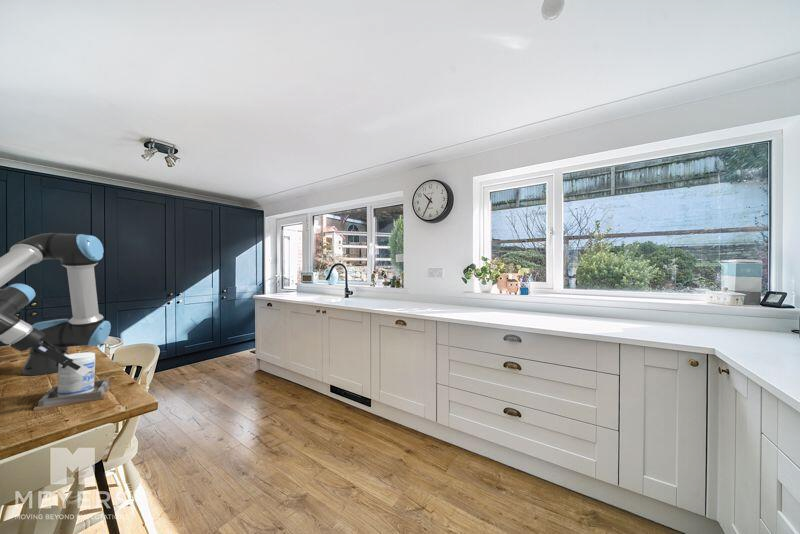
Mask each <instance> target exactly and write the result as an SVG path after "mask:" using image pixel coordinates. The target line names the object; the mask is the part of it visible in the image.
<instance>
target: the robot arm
mask: <svg viewBox="0 0 800 534" xmlns="http://www.w3.org/2000/svg"><path fill="white" fill-rule="evenodd" d="M103 257H104V246H103V243H102V242H101V240H100V239H99V238H97V236H94V235H89V234H83V233H81V234H80V233H59V232H58V233H56V232H48V233H47V232H46V233H41V234H37V235H33V236H30V237H28V238H26V239H25V238H24V239H23V240H21V241H19V242H17V243H15V244H13V245H12V246H11V247H10V248H9V251H8V252H7V253H5V254H4V255H2V256H0V342H2V343H3V344H5V345H9V346H10V347H11V348H12V349H14V350H16V351H18V352H24V351H27V350H29V355H28V358H27V360H26V361H25V364H24V365H23V368H22V371H21V372H22V373H21V374H22V375H23V376H41V375H47V374H48V375H49V374H54V373H58V367H59V363H60V364H61V365H63V366H62V368H65V367H67V368H69V369H71V370H72V371H74V372H76V373H78V374H80V375H82V376H85V375H86V374H87V373H88V372H89V371H90V370H91V369H89V368H87V367H85V366H84V365H82V364H80V363H78V362H76V361H74V360H72V359H70V358H68V357H66V356H65V355H69V352H68V348H69V347H70V348H71V347H75V348H76V347H93V346H100V345H102V344H104V343H105V342H106V341H107V339H108V337H109V336H110V333H111V328H112V325H111V322H110V321H108V320H104V316H103V314H101V313H100V311H99V304H98V294H97V284H96V282H97V281H96V276H95V275H96V273H95V267H96V265H98V264H99V261H100V260H102V258H103ZM45 260H60V265H61V266H62V267H64V268H66V272H67V279H68V280H67V281H68V288H69V296H70V306H71V313H72V317H71V318H70V319H69V318H60V319H59V318H58V319H51V320H46V321H45V320H44V321H39V322H35V323H33V324H32V325H31V324H30V323H28V322H26V321H25V320H22V319H20V318H19V317H17V316H15V315H16V314H17V313H18V312H20V311H21V310H22V309H24V308H25V307H26V306H28V305H29V304H30V303H31V302H32V300H33V299H35V297H36V292H35V290H34V288H32V287H31V286H30V285H27V284H25V283H13V284H10V285H8V286H6V287H5V288H1V287H3V286H4V285H5V284H7V283H8V282H9V281H11V280H12V279H14V278H15V277H16V276H18V275H19V274H21V273H22V272H23V271H25V270H26V269H27V268H29V267H30V266H31V265H35V264H39V263H41V261H45ZM66 360H67V361H66ZM65 361H66V362H65ZM64 362H65V363H64Z"/></svg>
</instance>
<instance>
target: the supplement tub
mask: <svg viewBox="0 0 800 534" xmlns="http://www.w3.org/2000/svg"><path fill="white" fill-rule="evenodd" d="M68 354H69V353H68ZM65 356H66V357H68V358H70V359H72V360H74V361H76V362H78V363H80V364H82V365H84V366H85V367H87V368H89V369H91V370H90V371H89V372H88V373H87V374H86V375H85V376H82V375H80V374H78V373H76V372H74V371H72V370H71V369H69V368H67V367H65V368H62V366H63V365H61V364H60V363H59V367H58V372H57V374H58V375H57V386H58V390H57V396H58V397H62V396H69V395H75V394H82V393H88V392H92V391H93V390H94V381H95V377H96V375H95V373H96V372H95V371H96V370H95V369H96V352H86V351H85V352H78V353H70V354H69V355H65ZM66 361H67V360H66ZM66 361H65V362H66ZM65 362H64V363H65Z"/></svg>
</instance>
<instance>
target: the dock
mask: <svg viewBox="0 0 800 534" xmlns="http://www.w3.org/2000/svg"><path fill="white" fill-rule="evenodd" d="M111 387H112V382H110V379H109V378H107V379H100V380H99V379H98V380H94V390H93V391H92V392H88V393H82V394H75V395H69V396H62V397H58V396H57V390H58V385H54V386H52V387H51V388H50V389H49V390H47V392H46V393H45V394H44V395H43V396H42V397H41V398H40V399H39V400H38V403H37V405H36V406H35V407H34V408H33V410H32V411H33V412H35V411H40V410H47V409H52V408H58V407H65V406H70V405H71V406H72V405H77V404H83V403H84V404H85V403H89V402H96V401H102V400H104V399H105V397H106V396H107V393H108V391H109V390H110V389H111Z"/></svg>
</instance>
